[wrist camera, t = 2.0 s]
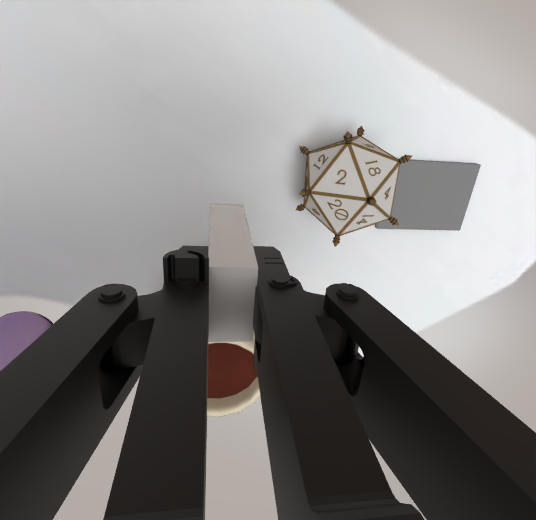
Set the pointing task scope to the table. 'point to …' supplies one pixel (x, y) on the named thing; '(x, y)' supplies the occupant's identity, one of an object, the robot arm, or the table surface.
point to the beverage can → (19, 333)
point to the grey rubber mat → (432, 195)
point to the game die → (350, 184)
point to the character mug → (231, 377)
